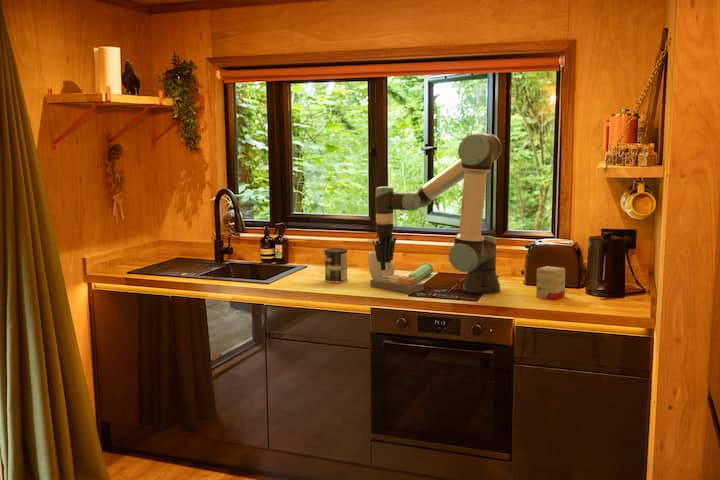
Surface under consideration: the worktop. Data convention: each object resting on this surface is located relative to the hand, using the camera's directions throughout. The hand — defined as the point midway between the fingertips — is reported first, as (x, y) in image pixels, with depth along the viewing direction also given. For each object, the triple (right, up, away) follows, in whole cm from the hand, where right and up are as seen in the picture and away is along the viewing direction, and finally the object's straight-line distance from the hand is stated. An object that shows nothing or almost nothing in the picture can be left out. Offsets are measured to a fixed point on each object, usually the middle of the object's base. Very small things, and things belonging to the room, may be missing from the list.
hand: (385, 277), depth 309 cm
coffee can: (-21, -2, +15) cm, 26 cm away
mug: (-1, -2, +11) cm, 12 cm away
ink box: (+65, -7, -24) cm, 69 cm away
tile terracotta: (+9, -3, -9) cm, 13 cm away
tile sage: (0, -4, 0) cm, 4 cm away
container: (+16, -2, +15) cm, 22 cm away
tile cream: (+5, -3, -4) cm, 7 cm away
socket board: (+5, -5, -4) cm, 8 cm away
